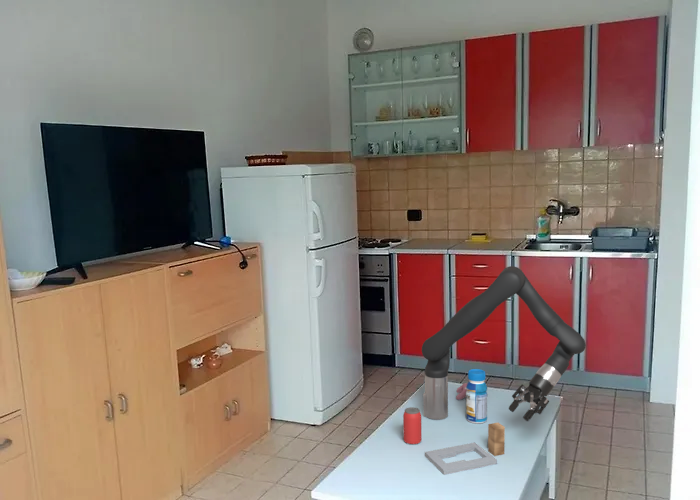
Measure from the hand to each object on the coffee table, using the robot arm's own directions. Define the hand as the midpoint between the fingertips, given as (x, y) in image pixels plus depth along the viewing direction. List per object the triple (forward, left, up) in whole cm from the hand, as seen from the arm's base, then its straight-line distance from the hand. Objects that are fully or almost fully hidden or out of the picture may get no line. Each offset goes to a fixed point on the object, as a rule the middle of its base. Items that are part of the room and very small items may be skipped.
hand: (517, 415), depth 205 cm
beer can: (-36, -9, -13) cm, 39 cm away
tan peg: (-6, -6, -12) cm, 15 cm away
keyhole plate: (-16, -16, -12) cm, 26 cm away
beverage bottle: (-19, +19, -13) cm, 30 cm away
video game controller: (-31, +42, -13) cm, 53 cm away
